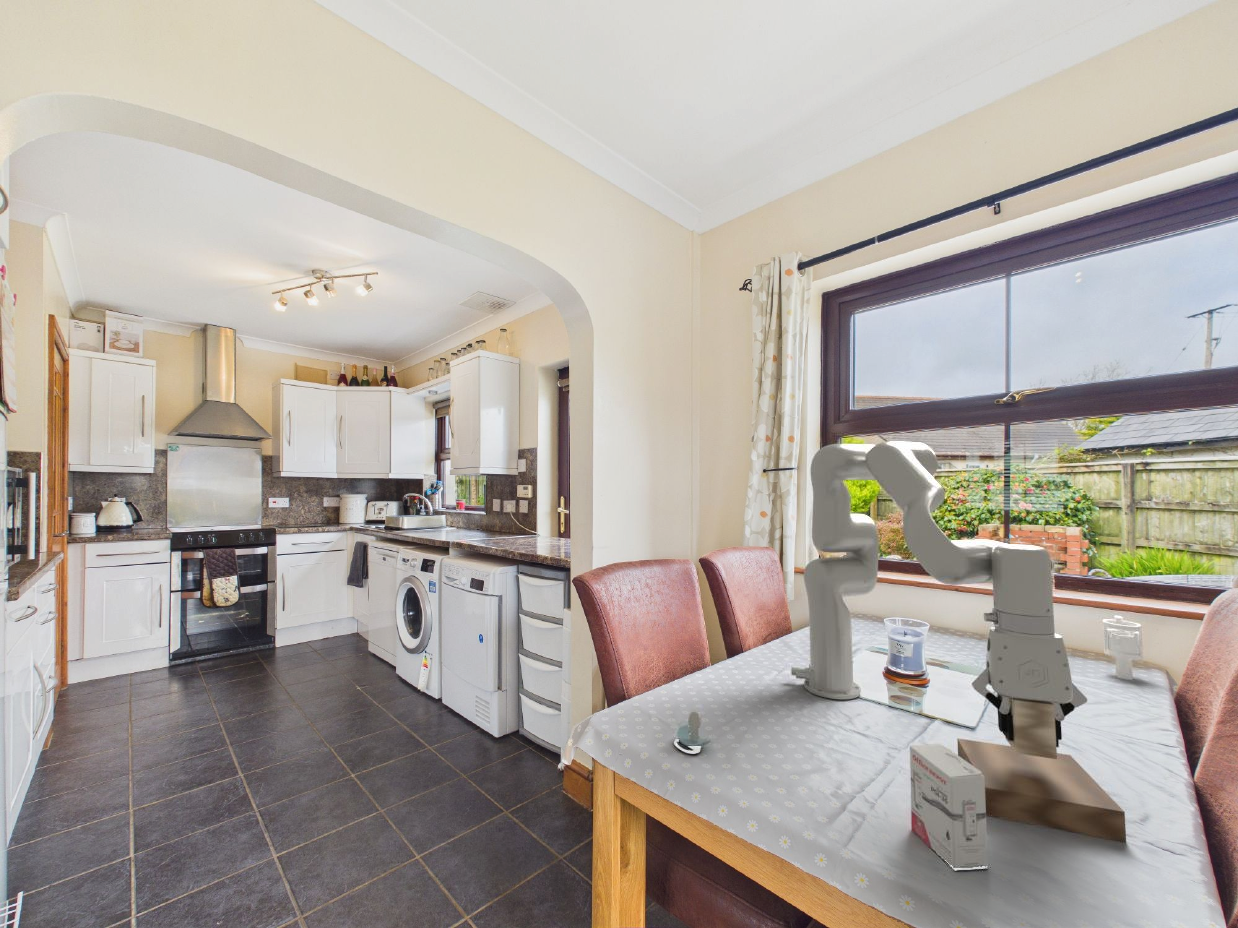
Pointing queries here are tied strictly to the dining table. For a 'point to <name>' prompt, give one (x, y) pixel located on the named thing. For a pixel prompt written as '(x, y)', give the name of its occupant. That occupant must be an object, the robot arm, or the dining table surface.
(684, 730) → the pacifier
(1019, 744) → the birch block
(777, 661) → the dining table surface
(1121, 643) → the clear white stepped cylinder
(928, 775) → the ink box
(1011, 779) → the walnut base
